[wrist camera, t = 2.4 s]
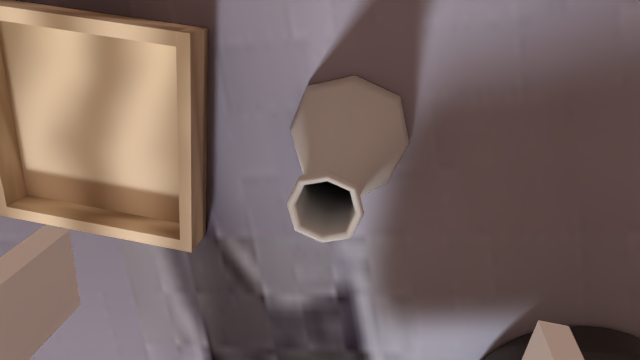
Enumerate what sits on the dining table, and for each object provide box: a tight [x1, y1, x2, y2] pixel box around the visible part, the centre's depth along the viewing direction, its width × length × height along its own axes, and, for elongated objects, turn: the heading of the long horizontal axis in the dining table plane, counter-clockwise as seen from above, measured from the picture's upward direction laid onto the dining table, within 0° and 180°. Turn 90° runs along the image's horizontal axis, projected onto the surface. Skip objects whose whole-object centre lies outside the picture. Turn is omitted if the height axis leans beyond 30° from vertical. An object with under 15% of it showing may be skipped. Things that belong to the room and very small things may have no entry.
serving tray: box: [0, 0, 208, 252], centre depth 29 cm, size 14×14×2 cm
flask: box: [287, 75, 409, 242], centre depth 23 cm, size 7×7×10 cm
